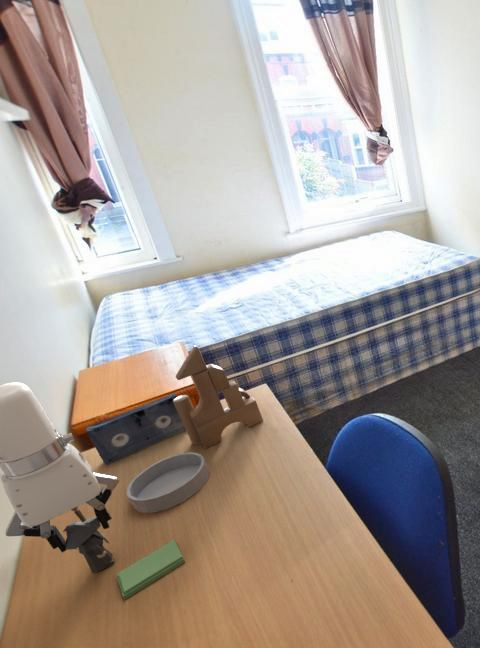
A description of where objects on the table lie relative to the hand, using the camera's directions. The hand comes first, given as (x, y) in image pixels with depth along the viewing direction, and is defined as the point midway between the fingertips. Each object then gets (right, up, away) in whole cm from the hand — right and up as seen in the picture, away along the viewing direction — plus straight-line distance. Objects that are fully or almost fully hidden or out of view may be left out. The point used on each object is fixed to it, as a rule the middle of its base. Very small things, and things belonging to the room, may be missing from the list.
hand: (85, 534), depth 83 cm
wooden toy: (+3, +9, +37) cm, 38 cm away
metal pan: (+1, +1, +20) cm, 20 cm away
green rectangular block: (+12, -6, 0) cm, 14 cm away
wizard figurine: (+1, -7, +3) cm, 7 cm away
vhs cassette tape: (-16, +6, +35) cm, 39 cm away
